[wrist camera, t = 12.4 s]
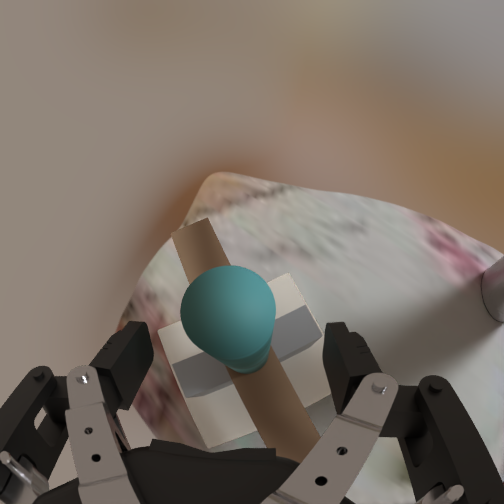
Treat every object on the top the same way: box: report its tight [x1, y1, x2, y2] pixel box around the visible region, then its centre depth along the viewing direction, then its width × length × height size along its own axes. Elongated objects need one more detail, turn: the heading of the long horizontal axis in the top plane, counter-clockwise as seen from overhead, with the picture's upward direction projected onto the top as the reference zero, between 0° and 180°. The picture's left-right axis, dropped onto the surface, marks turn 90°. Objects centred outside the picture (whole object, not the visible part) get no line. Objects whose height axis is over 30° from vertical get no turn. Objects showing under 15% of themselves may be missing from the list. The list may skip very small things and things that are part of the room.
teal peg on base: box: [171, 218, 321, 463], centre depth 15 cm, size 4×24×13 cm, turn 26°
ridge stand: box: [157, 273, 331, 448], centre depth 24 cm, size 16×14×8 cm
